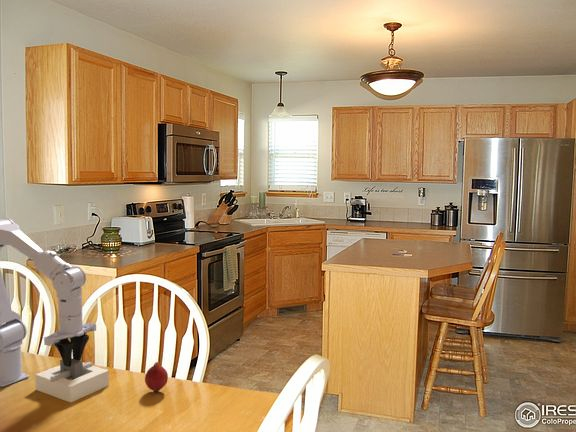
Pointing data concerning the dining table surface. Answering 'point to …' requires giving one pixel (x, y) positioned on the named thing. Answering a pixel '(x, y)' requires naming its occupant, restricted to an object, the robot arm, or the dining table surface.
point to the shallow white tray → (72, 382)
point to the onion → (156, 377)
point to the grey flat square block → (73, 368)
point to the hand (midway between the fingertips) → (72, 363)
